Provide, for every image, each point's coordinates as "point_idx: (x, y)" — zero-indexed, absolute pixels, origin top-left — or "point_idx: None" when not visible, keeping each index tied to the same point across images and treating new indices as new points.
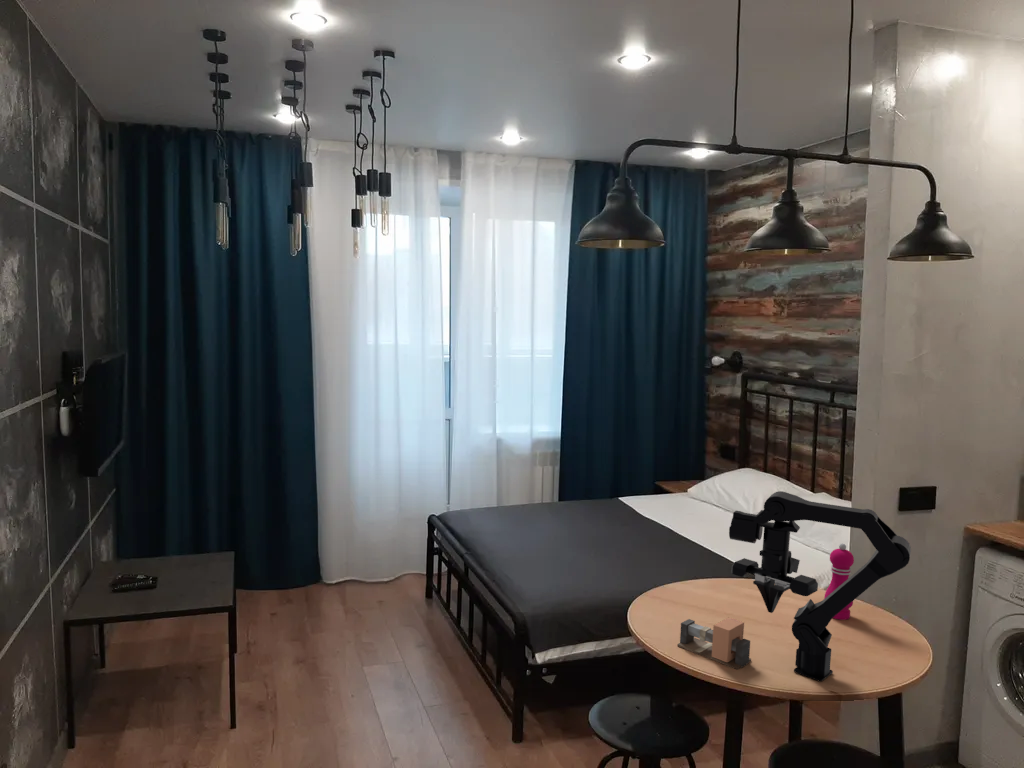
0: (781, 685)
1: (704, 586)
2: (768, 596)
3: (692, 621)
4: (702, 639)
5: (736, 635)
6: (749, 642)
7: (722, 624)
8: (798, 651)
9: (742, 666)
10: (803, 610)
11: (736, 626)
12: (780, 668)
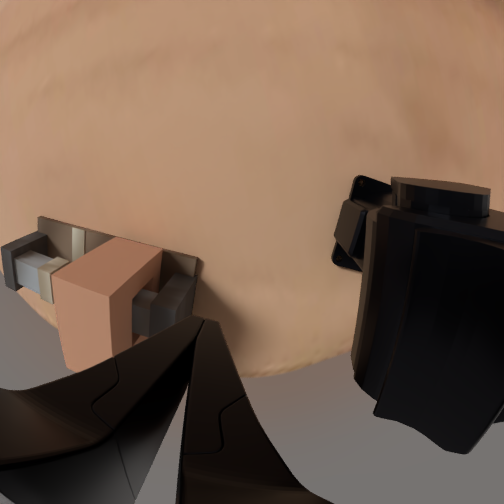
0: (309, 349)
1: None
2: (151, 453)
3: (10, 258)
4: None
5: (128, 327)
6: (176, 313)
7: (76, 353)
8: (356, 262)
9: (191, 309)
10: (444, 431)
11: (112, 351)
12: (290, 256)
